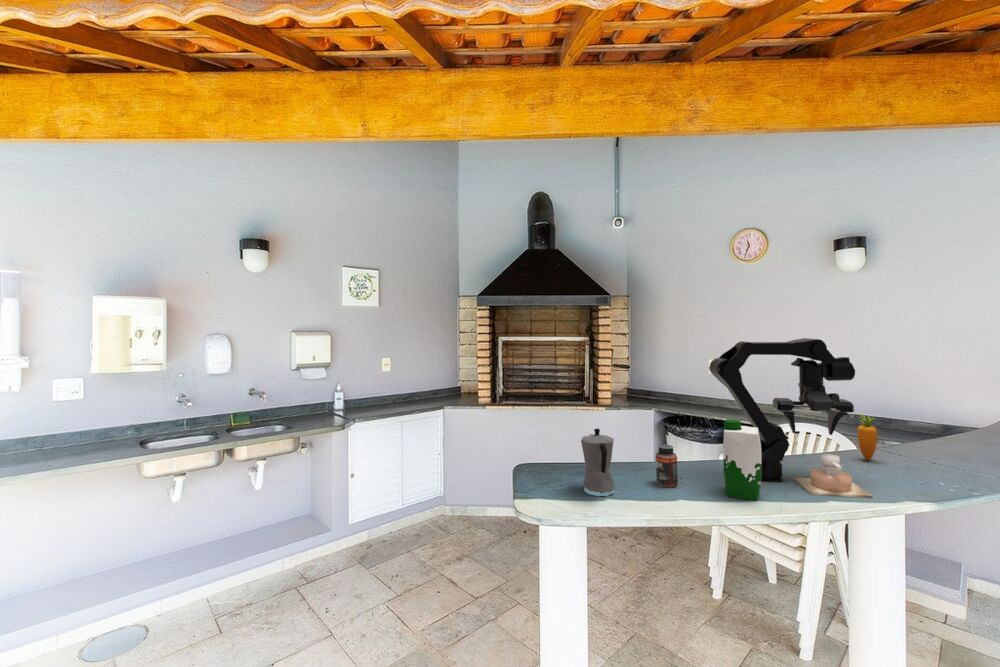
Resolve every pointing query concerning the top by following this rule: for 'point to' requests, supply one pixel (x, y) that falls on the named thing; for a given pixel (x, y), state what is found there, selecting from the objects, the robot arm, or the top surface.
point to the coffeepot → (598, 462)
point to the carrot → (867, 437)
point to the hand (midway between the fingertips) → (811, 433)
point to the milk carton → (742, 460)
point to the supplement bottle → (666, 466)
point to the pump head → (831, 460)
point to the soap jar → (831, 479)
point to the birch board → (813, 490)
